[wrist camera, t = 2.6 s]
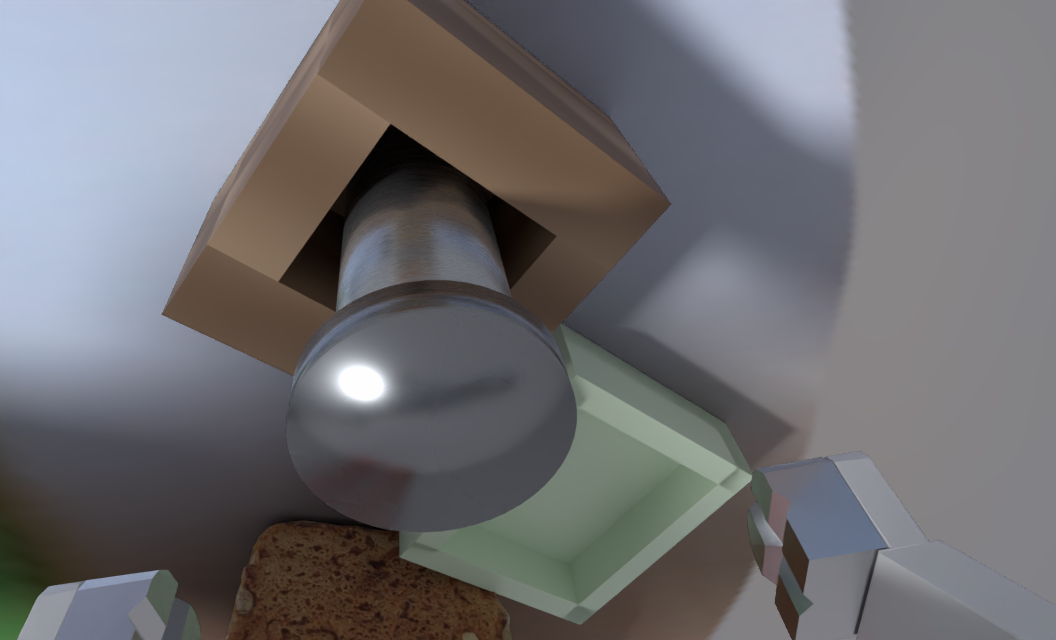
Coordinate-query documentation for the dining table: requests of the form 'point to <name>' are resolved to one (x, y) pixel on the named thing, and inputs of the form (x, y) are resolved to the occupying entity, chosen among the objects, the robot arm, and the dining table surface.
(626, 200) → the block
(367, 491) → the pin
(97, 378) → the dining table surface
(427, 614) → the bread
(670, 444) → the tray
